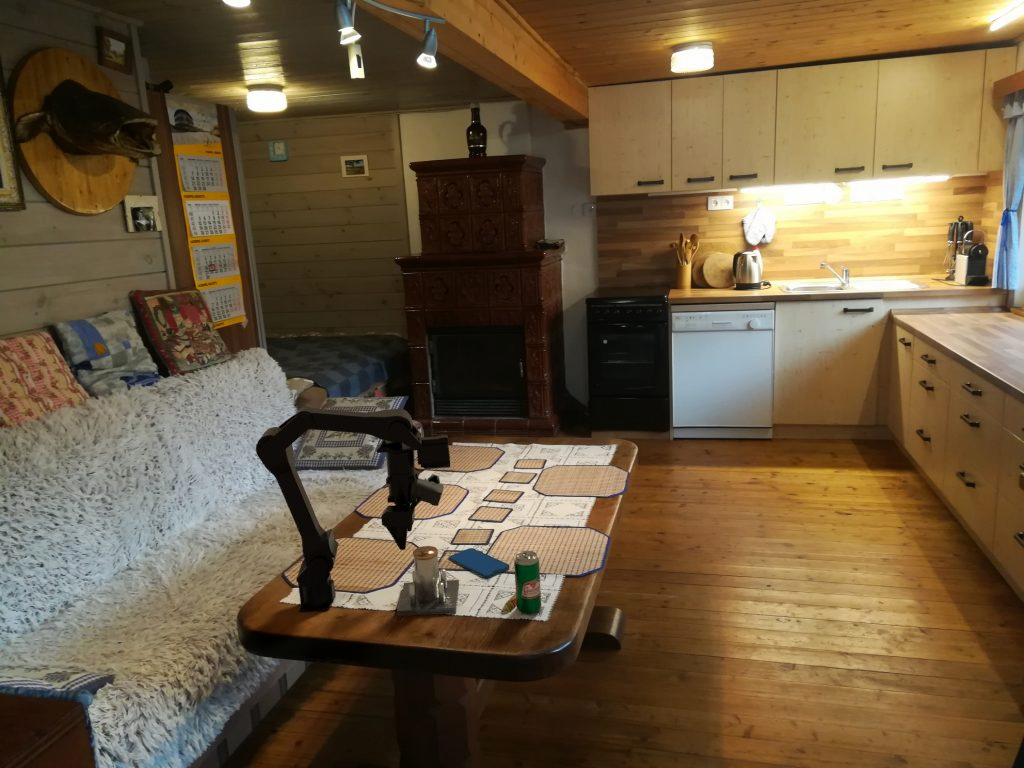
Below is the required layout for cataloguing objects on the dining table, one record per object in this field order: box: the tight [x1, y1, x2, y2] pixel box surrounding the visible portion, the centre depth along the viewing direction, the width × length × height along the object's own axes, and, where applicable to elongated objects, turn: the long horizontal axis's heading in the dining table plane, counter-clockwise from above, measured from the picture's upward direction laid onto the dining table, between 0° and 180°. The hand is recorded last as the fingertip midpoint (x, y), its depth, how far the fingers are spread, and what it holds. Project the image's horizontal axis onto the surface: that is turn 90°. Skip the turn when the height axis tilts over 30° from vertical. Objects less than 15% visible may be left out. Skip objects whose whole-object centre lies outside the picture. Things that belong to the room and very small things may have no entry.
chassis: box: [396, 568, 460, 617], centre depth 161 cm, size 12×12×5 cm
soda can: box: [513, 550, 542, 615], centre depth 154 cm, size 5×5×12 cm
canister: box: [412, 545, 441, 601], centre depth 160 cm, size 5×5×10 cm
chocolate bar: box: [501, 592, 517, 613], centre depth 161 cm, size 3×12×2 cm, turn 153°
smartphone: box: [448, 547, 510, 579], centre depth 177 cm, size 7×1×15 cm
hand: (406, 540), depth 162 cm, fingers open, 9 cm apart
